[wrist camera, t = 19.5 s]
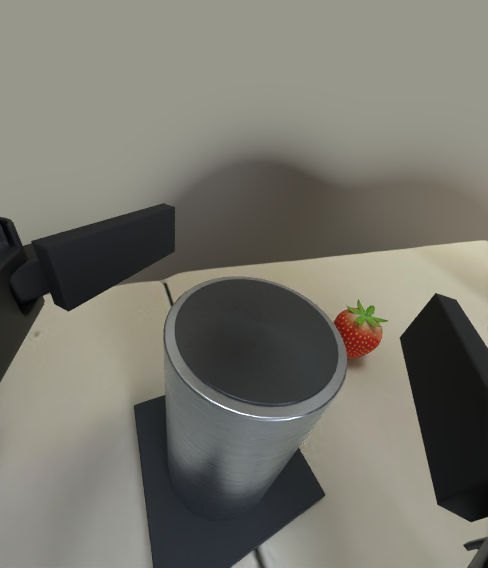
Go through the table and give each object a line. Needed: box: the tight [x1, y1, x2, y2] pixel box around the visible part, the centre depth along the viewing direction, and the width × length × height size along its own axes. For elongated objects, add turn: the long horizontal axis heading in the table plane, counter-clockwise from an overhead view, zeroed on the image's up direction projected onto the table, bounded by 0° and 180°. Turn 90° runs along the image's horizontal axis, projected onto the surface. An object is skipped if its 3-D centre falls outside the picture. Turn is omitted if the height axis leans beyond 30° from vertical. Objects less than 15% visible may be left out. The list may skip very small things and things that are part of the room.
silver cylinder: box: [163, 277, 347, 521], centre depth 15 cm, size 8×8×14 cm
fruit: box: [334, 300, 388, 358], centre depth 28 cm, size 5×5×8 cm
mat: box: [134, 395, 325, 568], centre depth 19 cm, size 12×12×1 cm
